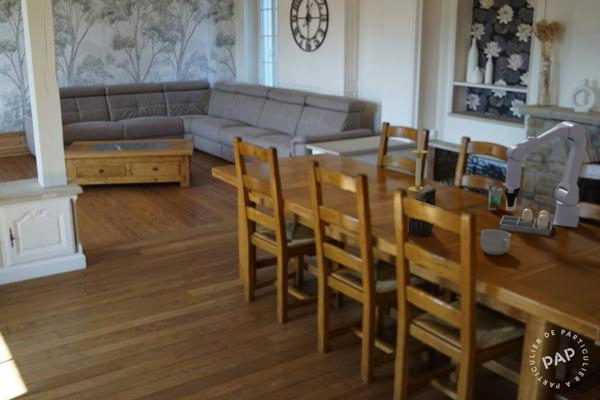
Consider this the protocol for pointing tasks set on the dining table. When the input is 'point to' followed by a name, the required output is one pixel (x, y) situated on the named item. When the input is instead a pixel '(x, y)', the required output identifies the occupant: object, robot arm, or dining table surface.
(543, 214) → the seated eggs
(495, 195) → the food container
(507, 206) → the white egg-shaped capsule
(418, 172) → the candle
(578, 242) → the dining table surface
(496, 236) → the teacup
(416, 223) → the owl
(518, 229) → the carton
